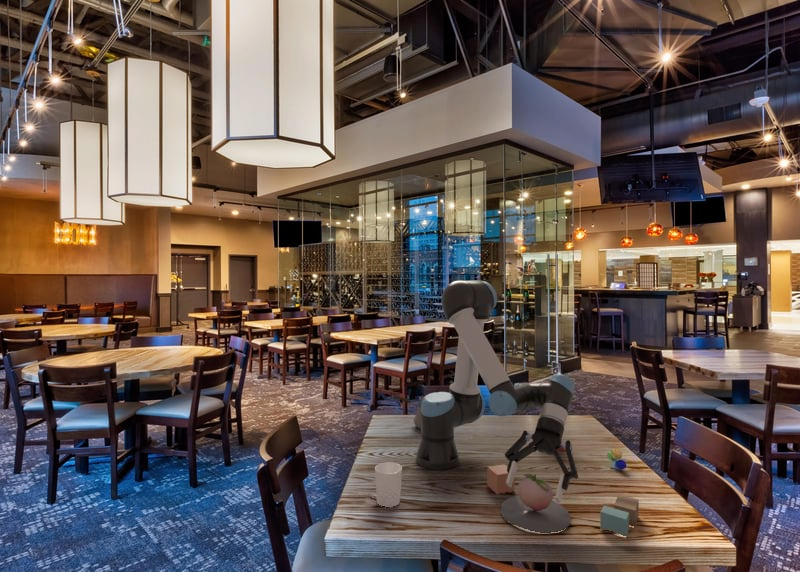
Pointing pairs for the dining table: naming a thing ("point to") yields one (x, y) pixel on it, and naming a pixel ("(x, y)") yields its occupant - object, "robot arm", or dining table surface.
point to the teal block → (614, 520)
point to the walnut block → (628, 507)
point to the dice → (614, 456)
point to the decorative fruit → (535, 492)
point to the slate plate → (535, 516)
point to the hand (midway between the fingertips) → (532, 492)
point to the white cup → (388, 483)
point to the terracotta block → (499, 479)
